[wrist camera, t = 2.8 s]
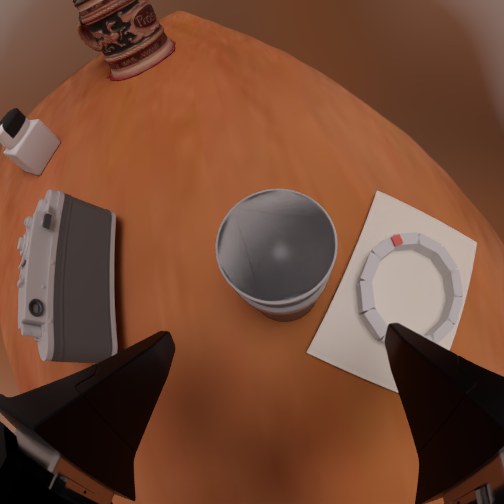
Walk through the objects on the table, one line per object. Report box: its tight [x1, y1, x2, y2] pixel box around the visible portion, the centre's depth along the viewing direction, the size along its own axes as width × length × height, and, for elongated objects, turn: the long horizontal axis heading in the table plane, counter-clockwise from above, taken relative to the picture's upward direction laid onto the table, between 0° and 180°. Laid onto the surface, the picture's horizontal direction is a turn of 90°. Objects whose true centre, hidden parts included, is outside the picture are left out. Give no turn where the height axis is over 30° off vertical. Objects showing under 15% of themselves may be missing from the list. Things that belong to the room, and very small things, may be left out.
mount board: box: [306, 191, 477, 393], centre depth 20 cm, size 16×12×3 cm
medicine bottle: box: [0, 108, 61, 175], centre depth 31 cm, size 7×7×12 cm
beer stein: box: [73, 0, 175, 81], centre depth 30 cm, size 17×28×18 cm
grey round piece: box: [216, 189, 338, 322], centre depth 18 cm, size 6×6×11 cm
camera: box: [17, 189, 117, 363], centre depth 22 cm, size 9×16×10 cm, turn 10°
